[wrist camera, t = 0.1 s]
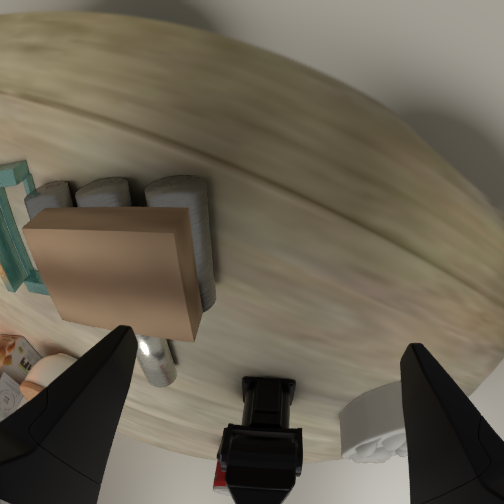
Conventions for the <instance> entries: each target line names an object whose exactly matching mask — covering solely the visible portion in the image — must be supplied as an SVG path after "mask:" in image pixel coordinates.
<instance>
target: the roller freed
mask: <svg viewBox="0 0 504 504" xmlns="http://www.w3.org/2000/svg"><path fill="white" fill-rule="evenodd" d="M135 336H136V338H137V341H138V350H137V355H136V357H137V359H138V362H139V364H140V366H141V368H142V370H143V372H144V374H145V376H146V378H147V380H148V382H149V383H150V384H151V385H153V386H155V387H166V386H168V385H170V384H171V383H173V382H174V380H175V379H176V376H177V371H176V368H175V365H174V362H173V359H172V356H171V352H170V349H169V346H168V343H167V340H166V339H164V338H157V337H150V336H144V335H138V334H135Z"/></svg>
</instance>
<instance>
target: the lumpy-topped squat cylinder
mask: <svg viewBox="0 0 504 504" xmlns="http://www.w3.org/2000/svg"><path fill="white" fill-rule="evenodd" d="M340 432H341V455H342V457H343V458H344V459H349V460H353V461H354V462H357V463H383V462H385V461H387V460H388V459H389V458H390V457H392V456H395V455H399V456H400V457H406V456H408V452H407V442H406V432H405V424H404V416H403V408H402V391H401V381H400V382H395V383H391V384H387V385H384V386H381V387H378V388H376V389H373V390H371V391H368V392H366V393H364V394H362V395H361V396H359V397H358V398H356V399H355V400H354V401H352V402H351V403H350V404H349V405H347V406H346V407H345V408H344V409H343V410H342V411H341V412H340Z"/></svg>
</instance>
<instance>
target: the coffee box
mask: <svg viewBox="0 0 504 504" xmlns="http://www.w3.org/2000/svg"><path fill="white" fill-rule="evenodd" d="M41 359H42V358H41V357H40V356H39V354H38V353H37V352H36V351H35V350H34V349H33V348H32V347H31V345H30V344H29V343H28V342H27V341H26V339H25V338H24V337H22V336H11V335H0V422H1V421H2V420H3V419H5V418H6V417H8V416H9V415H10V414H12V413H13V412H15V411H16V410H17V407H18V405H19V404H20V402H21V400H22V398H23V395H22V393H21V392H20V388H19V387H20V385H21V383H22V382H23V381H24V380H25V378H26V376H27V374H28V373H29V371H30V370H31V368H32V367H33V366H34V365H35V364H36V363H37V362H38V361H39V360H41Z"/></svg>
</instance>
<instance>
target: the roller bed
mask: <svg viewBox="0 0 504 504" xmlns="http://www.w3.org/2000/svg"><path fill="white" fill-rule="evenodd" d="M22 181H23V183H24V187H25V190H26V194H27V196H26V197H25V199H24V201H25V205H26V208H27V211H28V214H29V217H30V220H32V219H33V218H34V217H35V216H36V215H37V214H38V213H40V212H41V211H42V210H43V209H44V208H67V207H74V206H73V202H72V199H71V195H70V191H69V187H68V183H67V182H66V181H56V182H52V183H48V184H46V185H43V186H41V187H39V188H37V189H35V187H34V183H33V179H32V175H31V174H29V171H28V167H27V163H26V161H21V162H16V163H11V164H6V165H1V166H0V205H1V209H2V211H3V214H4V217H5V220H6V223H7V226H8V228H9V231H10V234H11V236H12V239H13V242H14V244H15V247H16V249H17V251H18V254H19V256H20V259H21V261H22V263H23V265H24V268H25V270H26V272H27V274H28V276H27V274H26V272H25V270H24V268H23V266H22V263H21V261H20V259H19V256H18V254H17V252H16V249H15V247H14V244H13V242H12V239H11V237H10V234H9V232H8V229H7V226H6V223H5V221H4V218H3V215H2V212H1V209H0V276H1V278H2V280H3V282H4V284H5V286H6V288H7V290H8V291H10V292H16V290H17V289H18V288H19V287H20V285H21V284H22V283H23V282H24V283H25V285H26V287H27V289H28V291H29V292H34V293H39V294H44V295H49V293H48V291H47V288H46V286H45V284H44V282H43V280H42V278H41V275H40V273H39V271H34V269H33V267H32V265H31V262H30V260H29V257H28V255H27V253H26V250H25V248H24V245H23V243H22V240H21V237H20V235H19V232H18V229H17V227H16V224H15V221H14V218H13V215H12V212H11V209H10V206H9V203H8V200H7V197H6V193H5V190H4V187H6V186H14V185H18V184H19V183H20V182H22ZM145 197H146V203H147V207H184V208H189V214H190V222H191V231H192V239H193V247H194V255H195V263H196V270H197V277H198V284H199V291H200V298H201V304H202V311H203V312H205V311H207V310H208V309H210V308H211V307H212V306H213V304H214V303H215V300H216V289H215V280H214V269H213V259H212V248H211V236H210V225H209V212H208V199H207V185H206V181H205V180H204V179H202V178H200V177H196V176H189V175H181V176H172V177H167V178H163V179H160V180H157V181H155V182H153V183H151V184H150V185H149V186H148V187H147V188H146V189H145ZM75 198H76V202H77V206H78V207H132V202H131V197H130V192H129V186H128V181H127V180H126V179H124V178H120V177H112V178H105V179H101V180H97V181H94V182H92V183H89V184H87V185H85V186H84V187H82V188H81V189H79V190H78V191H77V192H76V194H75ZM49 296H50V295H49Z"/></svg>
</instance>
